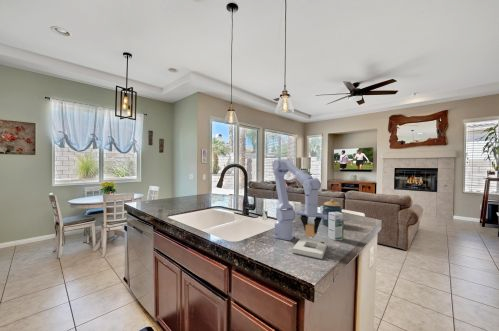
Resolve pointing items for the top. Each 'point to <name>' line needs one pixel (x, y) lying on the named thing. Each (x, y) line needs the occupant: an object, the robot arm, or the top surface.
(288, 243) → the top surface
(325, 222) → the canister
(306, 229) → the plug
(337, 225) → the syrup box
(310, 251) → the white cutout panel
